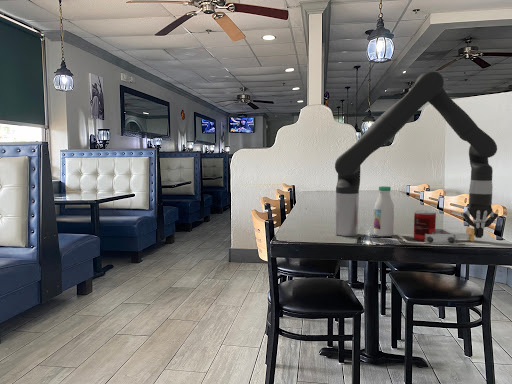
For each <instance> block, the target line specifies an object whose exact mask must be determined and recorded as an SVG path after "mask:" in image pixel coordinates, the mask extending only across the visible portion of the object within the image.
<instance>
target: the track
mask: <svg viewBox="0 0 512 384" xmlns="http://www.w3.org/2000/svg"><path fill="white" fill-rule="evenodd" d="M397 236H398V237H399V238H400V239H401V240H402V241H403V242H404V241H405V242H404V243H406V244H424V243H431V245H432V244H433V245H458V244H465V246H490V244H489V243H465V242H464V243H462V242H460V243H459V242H457V243H456V242H455V243H436V242H425V241H408V240H407V238H405V237H414V234H397Z"/></svg>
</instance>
